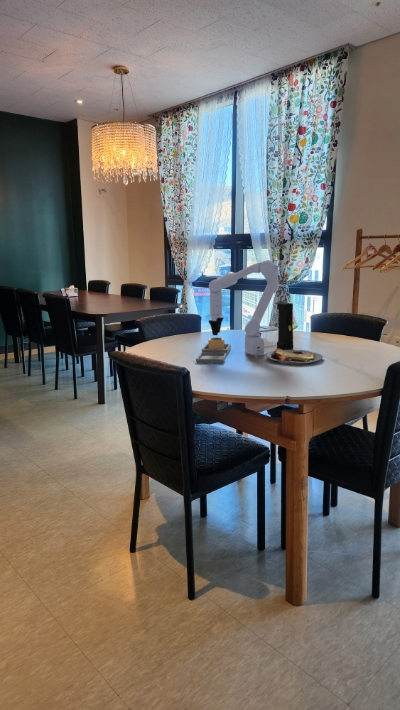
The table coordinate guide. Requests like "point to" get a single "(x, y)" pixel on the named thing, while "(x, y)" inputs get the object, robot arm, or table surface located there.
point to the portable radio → (285, 326)
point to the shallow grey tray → (211, 358)
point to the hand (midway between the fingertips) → (216, 333)
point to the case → (226, 350)
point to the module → (216, 343)
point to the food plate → (293, 356)
